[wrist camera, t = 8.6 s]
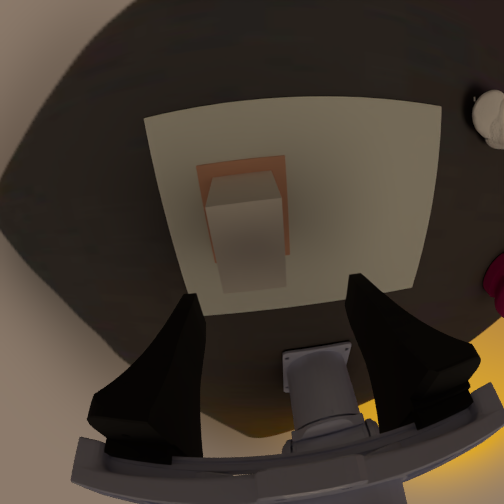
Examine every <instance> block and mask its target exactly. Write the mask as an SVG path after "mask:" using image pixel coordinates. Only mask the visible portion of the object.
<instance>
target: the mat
mask: <svg viewBox="0 0 504 504" xmlns="http://www.w3.org/2000/svg"><path fill="white" fill-rule="evenodd" d="M144 122H145V127H146V133H147V138H148V143H149V147H150V152H151V157H152V161H153V166H154V170H155V175H156V179H157V183H158V187H159V192H160V196H161V200H162V204H163V208H164V212H165V215H166V219H167V223H168V227H169V230H170V234H171V238H172V241H173V245H174V248H175V252H176V255H177V259H178V262H179V265H180V269H181V272H182V275H183V279H184V282H185V285H186V288H187V291H188V294H191V293H197V297H198V300H199V303H200V306H201V309H202V312H203V316H207V315H219V314H230V313H241V312H251V311H260V310H269V309H278V308H286V307H294V306H302V305H309V304H316V303H323V302H330V301H337V300H343V299H346V294H347V287H348V279H349V275H350V274H357V273H361V274H363V275H364V276H365V277H366V278H367V279H368V280H369V281H370V282H372V283H373V284H374V285H375V286H376V287H377V288H378V289H379V290H381V291H382V292H383V293H385V292H390V291H396V290H401V289H406V288H411V287H412V286H413V282H414V279H415V275H416V272H417V268H418V265H419V261H420V257H421V253H422V249H423V245H424V241H425V236H426V232H427V227H428V222H429V217H430V212H431V207H432V201H433V195H434V188H435V181H436V174H437V166H438V156H439V145H440V131H441V106H436V105H430V104H423V103H416V102H409V101H400V100H391V99H380V98H365V97H342V96H305V97H281V98H266V99H255V100H245V101H236V102H228V103H220V104H214V105H207V106H201V107H195V108H189V109H184V110H179V111H174V112H169V113H165V114H160V115H156V116H151V117H147V118H144ZM280 155H285V164H286V180H287V198H288V218H289V242H290V255H285V260H286V281H287V287H281V288H273V289H265V290H256V291H247V292H238V293H229V294H224V293H223V288H222V284H221V280H220V275H219V271H218V266H217V263H215V261H214V256H213V252H212V247H211V242H210V237H209V232H208V227H207V222H206V217H205V212H204V207H203V202H202V197H201V192H200V186H199V181H198V175H197V170H196V166H197V165H203V164H210V163H217V162H224V161H232V160H241V159H249V158H259V157H269V156H280Z"/></svg>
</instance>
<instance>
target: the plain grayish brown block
mask: <svg viewBox="0 0 504 504" xmlns="http://www.w3.org/2000/svg"><path fill="white" fill-rule="evenodd" d="M205 209H206V214H207V219H208V224H209V229H210V234H211V239H212V243H213V248H214V253H215V257H216V262H217V266H218V271H219V275H220V280H221V284H222V288H223V293H224V294H229V293H238V292H247V291H256V290H265V289H273V288H281V287H287V281H286V260H285V242H284V225H283V209H282V197H281V195H280V192H279V189H278V187H277V184H276V181H275V179H274V176H273V174H272V171H271V170H269V171H260V172H251V173H243V174H235V175H227V176H220V177H213V178H212V182H211V186H210V190H209V194H208V198H207V202H206V206H205Z"/></svg>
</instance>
